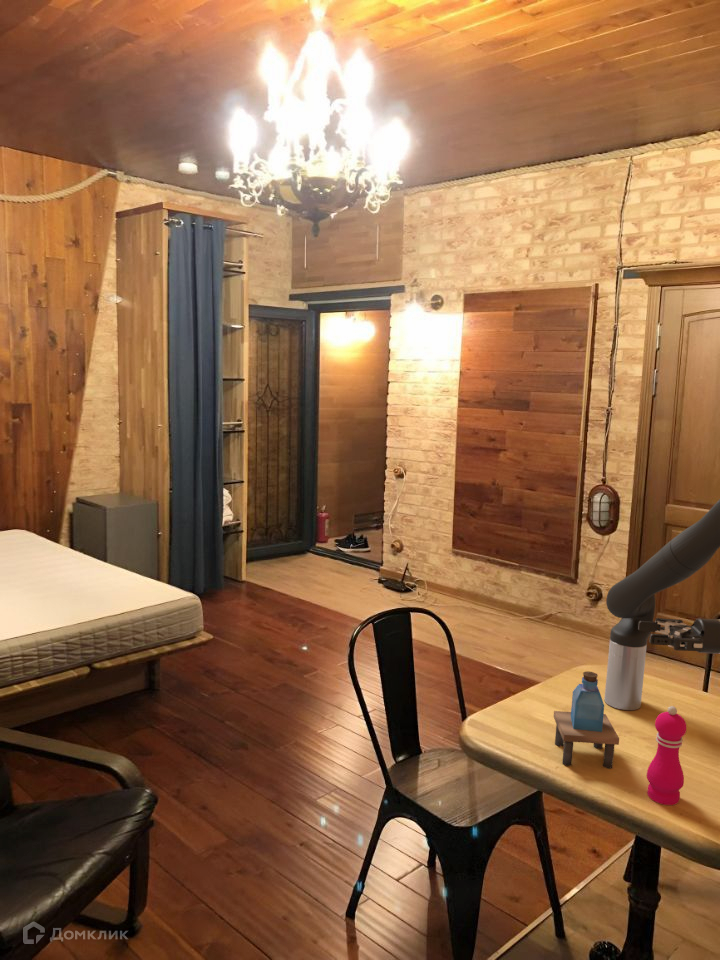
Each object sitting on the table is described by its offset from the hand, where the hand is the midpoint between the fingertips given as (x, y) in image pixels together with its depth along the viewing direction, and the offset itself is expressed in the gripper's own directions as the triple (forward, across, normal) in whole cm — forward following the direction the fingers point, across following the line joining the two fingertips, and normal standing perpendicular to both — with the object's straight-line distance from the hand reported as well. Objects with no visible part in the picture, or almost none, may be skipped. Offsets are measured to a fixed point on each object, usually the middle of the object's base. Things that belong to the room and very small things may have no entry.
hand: (644, 632), depth 175 cm
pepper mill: (-2, +16, +30) cm, 34 cm away
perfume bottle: (+11, 0, +23) cm, 25 cm away
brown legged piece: (+11, 0, +30) cm, 32 cm away
